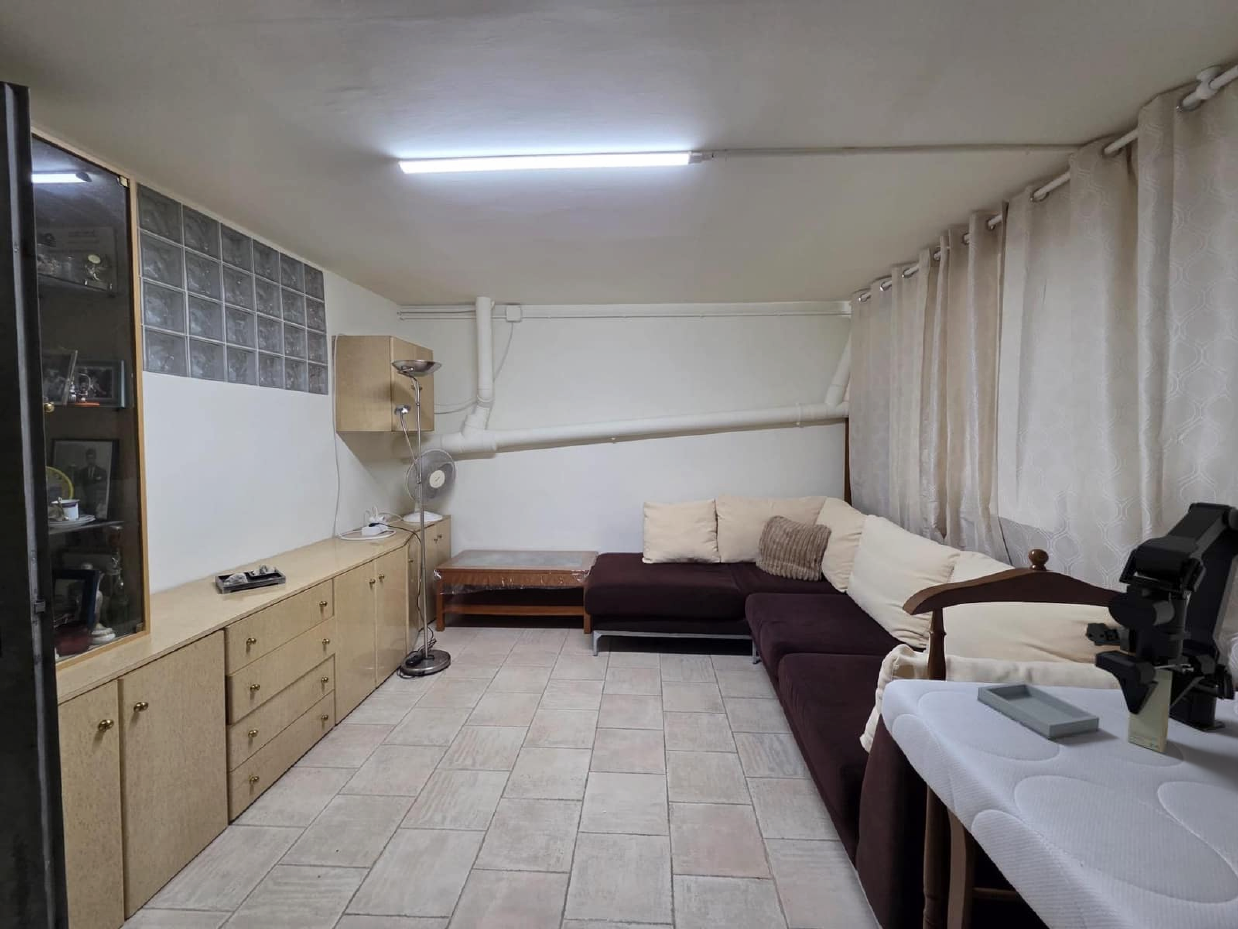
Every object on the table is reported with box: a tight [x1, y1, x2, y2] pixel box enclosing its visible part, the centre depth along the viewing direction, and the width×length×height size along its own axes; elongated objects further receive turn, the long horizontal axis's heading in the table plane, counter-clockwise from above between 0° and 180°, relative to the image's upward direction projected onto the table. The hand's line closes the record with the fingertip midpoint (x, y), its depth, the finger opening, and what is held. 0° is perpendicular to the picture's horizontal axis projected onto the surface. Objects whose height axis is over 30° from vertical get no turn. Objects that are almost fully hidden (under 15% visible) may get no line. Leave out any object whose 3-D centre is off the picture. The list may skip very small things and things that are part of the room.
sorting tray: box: [976, 681, 1100, 740], centre depth 91 cm, size 12×13×2 cm
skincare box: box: [1126, 668, 1172, 754], centre depth 84 cm, size 6×4×12 cm
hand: (1149, 711), depth 84 cm, fingers closed on skincare box, 7 cm apart
